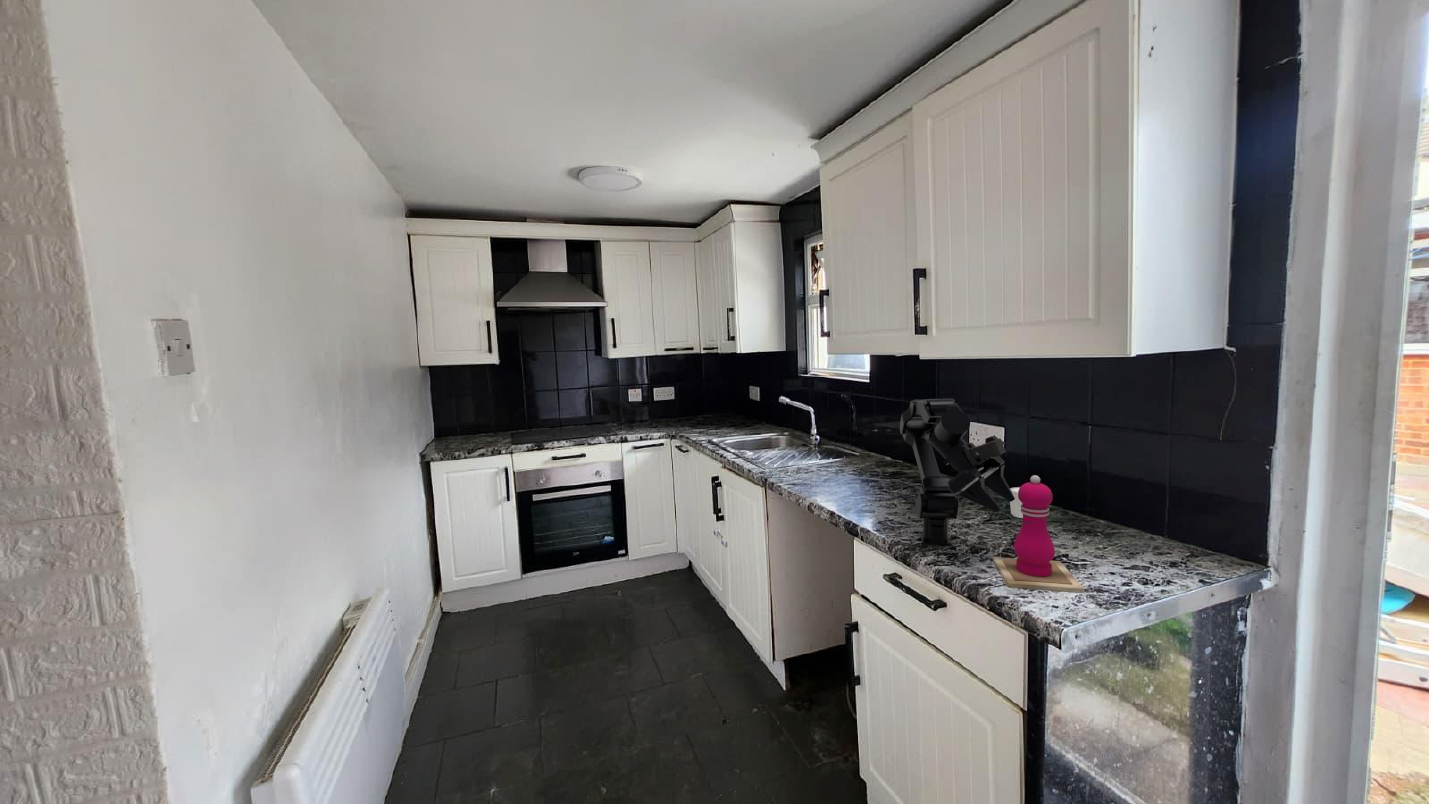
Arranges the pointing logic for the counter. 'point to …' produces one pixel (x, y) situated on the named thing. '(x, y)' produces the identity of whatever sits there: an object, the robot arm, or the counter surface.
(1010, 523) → the counter surface
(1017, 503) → the white cup
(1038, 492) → the pepper mill
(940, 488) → the robot arm
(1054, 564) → the beech tray
